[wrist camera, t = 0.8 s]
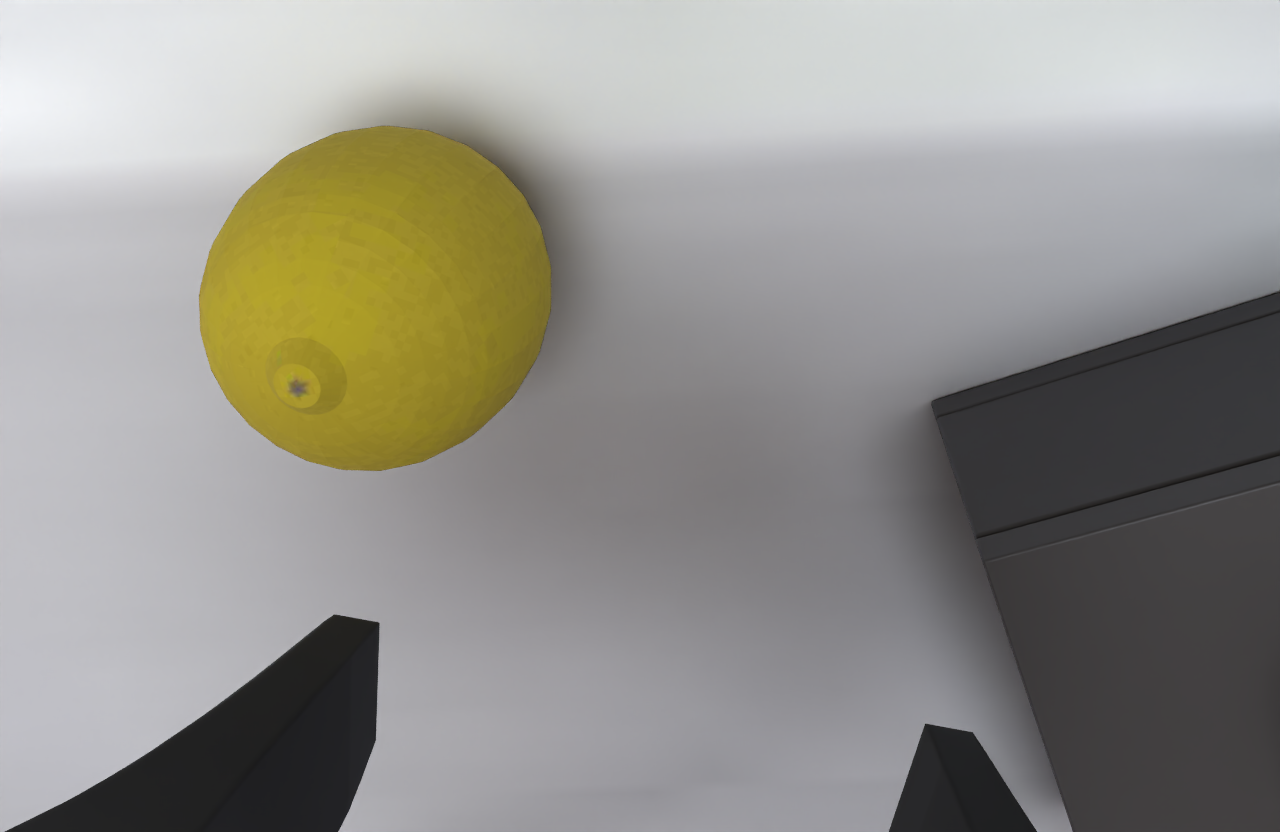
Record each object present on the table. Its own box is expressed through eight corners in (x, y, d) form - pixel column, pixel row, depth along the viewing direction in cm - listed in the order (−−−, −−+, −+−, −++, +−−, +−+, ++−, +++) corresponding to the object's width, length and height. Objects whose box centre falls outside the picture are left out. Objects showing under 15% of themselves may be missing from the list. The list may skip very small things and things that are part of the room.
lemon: (433, 397, 23) (284, 610, 16) (269, 190, 22) (23, 326, 15) (636, 272, 22) (569, 449, 14) (474, 35, 20) (309, 103, 13)
